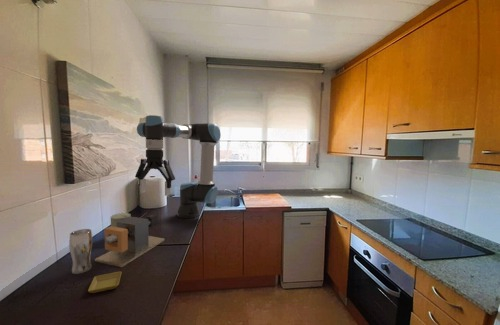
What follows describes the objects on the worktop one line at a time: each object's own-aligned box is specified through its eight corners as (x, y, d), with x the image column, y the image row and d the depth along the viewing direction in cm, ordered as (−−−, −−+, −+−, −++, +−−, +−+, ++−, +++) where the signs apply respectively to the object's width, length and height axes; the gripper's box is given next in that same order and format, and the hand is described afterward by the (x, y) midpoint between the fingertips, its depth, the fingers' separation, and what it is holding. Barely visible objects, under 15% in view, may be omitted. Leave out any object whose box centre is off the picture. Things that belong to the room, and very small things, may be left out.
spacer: (111, 246, 93) (110, 226, 93) (127, 249, 91) (127, 229, 90) (104, 249, 90) (104, 228, 90) (121, 252, 88) (121, 231, 87)
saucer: (87, 297, 69) (87, 291, 69) (94, 281, 77) (94, 275, 77) (118, 290, 72) (118, 284, 72) (122, 276, 80) (122, 270, 80)
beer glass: (74, 266, 85) (72, 229, 84) (95, 263, 88) (94, 227, 86) (67, 276, 78) (65, 237, 77) (90, 272, 81) (89, 234, 80)
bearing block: (142, 236, 114) (142, 210, 113) (164, 240, 110) (164, 214, 109) (94, 261, 89) (94, 228, 88) (121, 267, 85) (121, 233, 84)
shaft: (152, 223, 113) (152, 214, 112) (156, 224, 112) (156, 215, 112) (104, 245, 87) (104, 234, 87) (110, 247, 86) (110, 235, 86)
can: (121, 241, 107) (121, 218, 107) (106, 239, 109) (105, 216, 108) (134, 234, 116) (134, 212, 116) (120, 232, 118) (120, 211, 117)
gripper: (126, 148, 99) (127, 193, 101) (173, 150, 93) (173, 197, 95) (138, 148, 106) (139, 190, 108) (182, 150, 100) (182, 194, 102)
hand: (155, 193), depth 101 cm, fingers open, 13 cm apart
